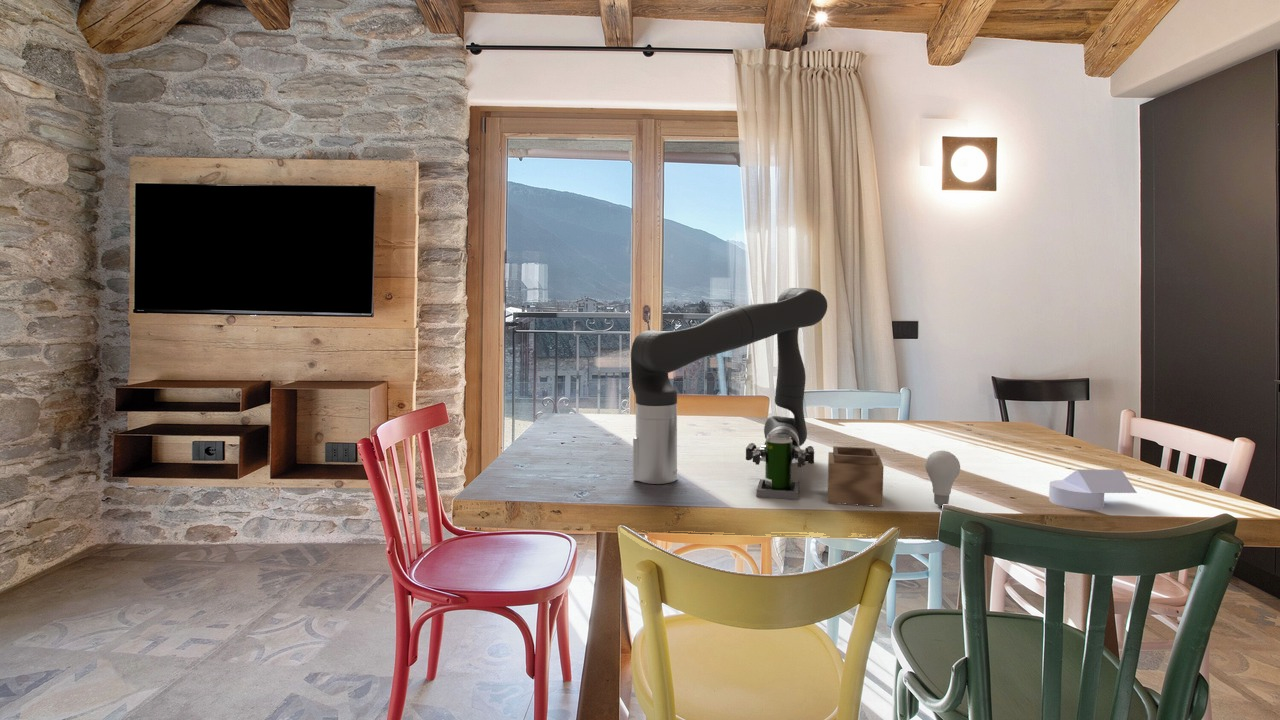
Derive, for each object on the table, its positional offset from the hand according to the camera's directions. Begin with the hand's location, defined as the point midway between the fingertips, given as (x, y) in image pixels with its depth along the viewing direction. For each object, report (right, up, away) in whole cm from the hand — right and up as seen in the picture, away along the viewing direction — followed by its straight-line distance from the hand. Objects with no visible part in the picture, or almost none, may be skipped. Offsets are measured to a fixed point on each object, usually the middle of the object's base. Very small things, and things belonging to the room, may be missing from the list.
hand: (778, 461), depth 136 cm
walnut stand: (+15, -7, -2) cm, 17 cm away
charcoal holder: (0, -7, +2) cm, 7 cm away
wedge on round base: (+59, -8, -5) cm, 60 cm away
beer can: (0, -7, +2) cm, 7 cm away
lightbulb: (+30, -8, -8) cm, 32 cm away
